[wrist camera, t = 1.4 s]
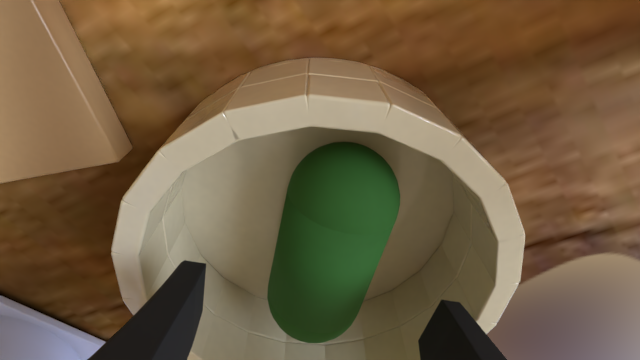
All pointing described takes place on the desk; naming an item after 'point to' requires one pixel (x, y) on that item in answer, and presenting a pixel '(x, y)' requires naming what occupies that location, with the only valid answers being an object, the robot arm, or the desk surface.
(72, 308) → the desk surface
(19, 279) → the desk surface
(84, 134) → the cutting board
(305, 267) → the cucumber
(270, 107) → the pot
